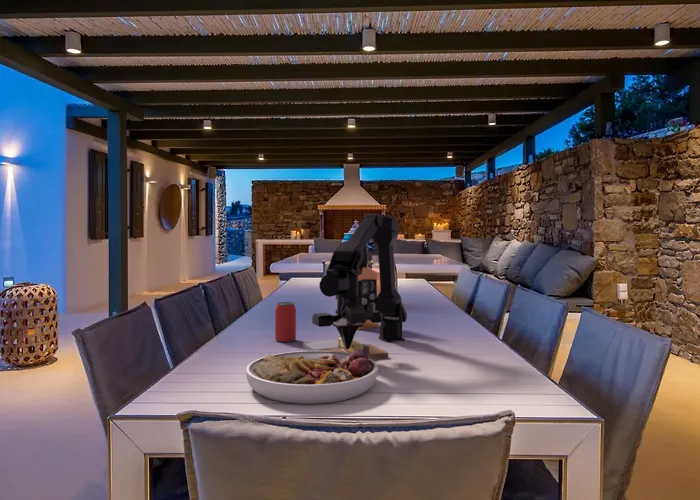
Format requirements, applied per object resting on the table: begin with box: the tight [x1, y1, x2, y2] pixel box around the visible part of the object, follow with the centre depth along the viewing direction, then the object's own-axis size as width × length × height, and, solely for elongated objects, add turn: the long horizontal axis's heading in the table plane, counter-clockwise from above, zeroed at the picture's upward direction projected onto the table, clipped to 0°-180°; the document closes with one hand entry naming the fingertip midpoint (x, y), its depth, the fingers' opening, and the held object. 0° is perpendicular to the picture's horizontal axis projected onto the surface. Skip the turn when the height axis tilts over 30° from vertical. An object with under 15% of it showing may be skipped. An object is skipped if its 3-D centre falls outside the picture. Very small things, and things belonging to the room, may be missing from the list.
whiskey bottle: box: [347, 246, 380, 331], centre depth 195 cm, size 10×10×32 cm
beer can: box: [274, 301, 297, 343], centre depth 171 cm, size 7×7×12 cm
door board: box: [315, 344, 389, 361], centre depth 151 cm, size 18×11×4 cm, turn 113°
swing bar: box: [337, 335, 363, 353], centre depth 151 cm, size 13×3×3 cm, turn 23°
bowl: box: [245, 349, 378, 405], centre depth 123 cm, size 30×30×8 cm
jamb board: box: [302, 337, 372, 351], centre depth 160 cm, size 18×12×2 cm, turn 113°
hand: (347, 348), depth 147 cm, fingers closed
